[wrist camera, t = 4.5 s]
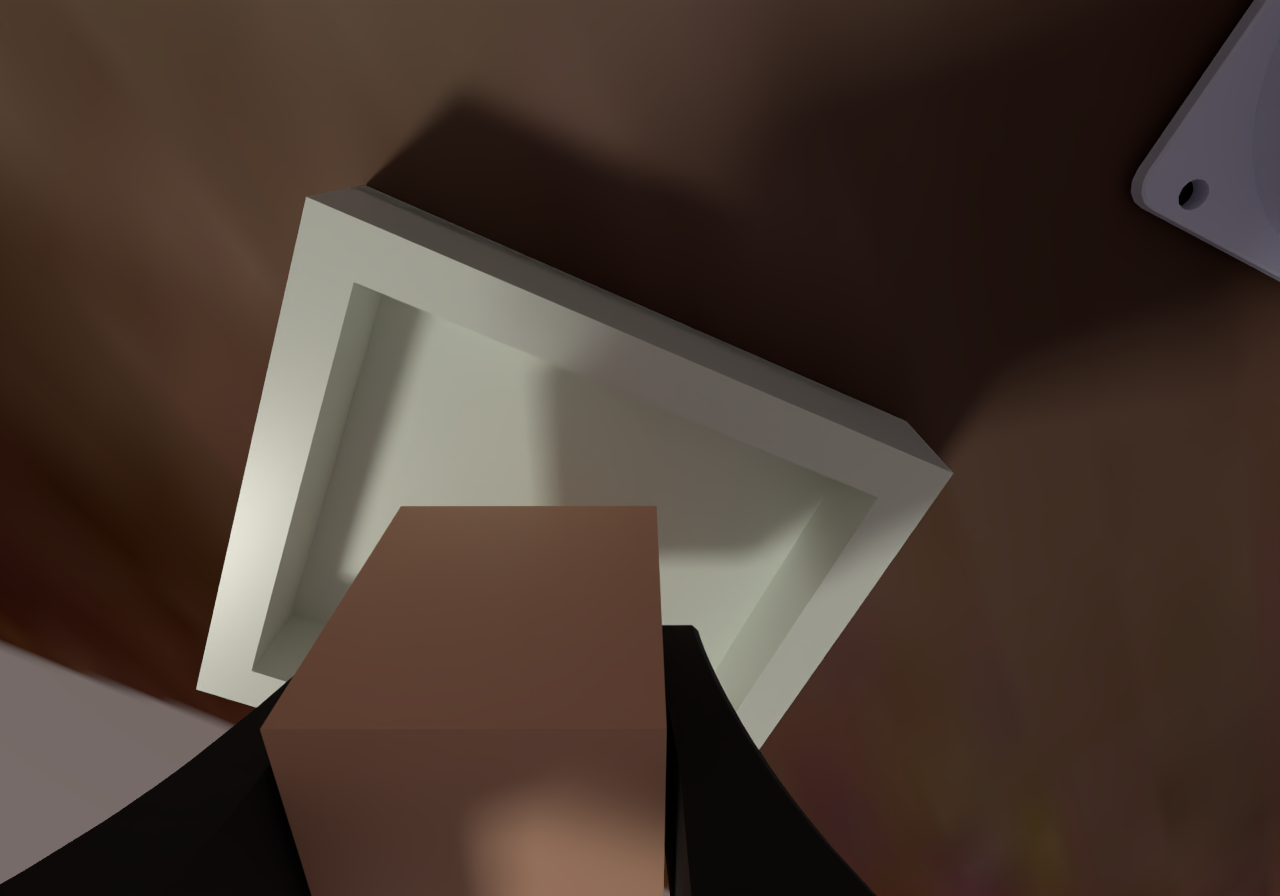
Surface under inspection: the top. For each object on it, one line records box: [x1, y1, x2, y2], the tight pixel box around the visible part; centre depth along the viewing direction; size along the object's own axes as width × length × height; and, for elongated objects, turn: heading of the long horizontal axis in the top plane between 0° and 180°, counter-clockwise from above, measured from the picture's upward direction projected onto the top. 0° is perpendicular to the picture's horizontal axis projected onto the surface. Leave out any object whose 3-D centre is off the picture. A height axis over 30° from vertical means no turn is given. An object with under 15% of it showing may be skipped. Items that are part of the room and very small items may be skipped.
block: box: [260, 506, 667, 896], centre depth 11 cm, size 4×4×5 cm
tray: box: [196, 185, 953, 749], centre depth 15 cm, size 12×11×2 cm
